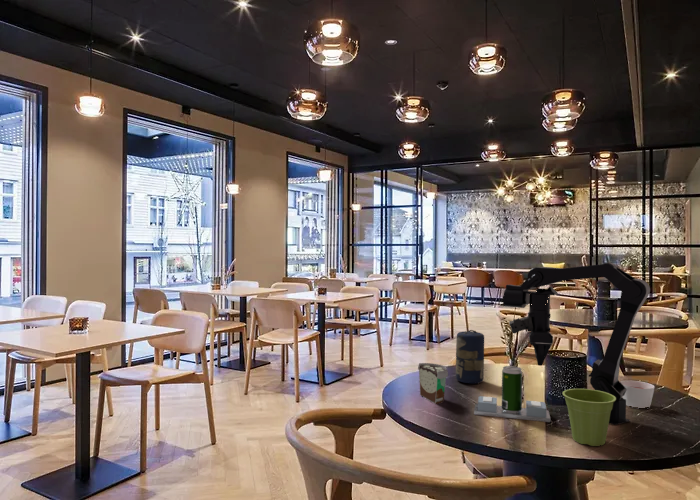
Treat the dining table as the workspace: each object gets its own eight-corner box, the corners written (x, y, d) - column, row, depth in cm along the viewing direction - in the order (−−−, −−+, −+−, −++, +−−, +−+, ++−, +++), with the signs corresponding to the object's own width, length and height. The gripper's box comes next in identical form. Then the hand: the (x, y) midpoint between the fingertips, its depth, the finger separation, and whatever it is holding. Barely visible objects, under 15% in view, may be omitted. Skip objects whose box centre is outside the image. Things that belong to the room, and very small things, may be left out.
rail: (548, 414, 145) (548, 410, 145) (550, 422, 138) (550, 418, 138) (475, 406, 151) (475, 403, 151) (474, 414, 144) (474, 410, 144)
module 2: (544, 410, 145) (544, 401, 145) (546, 417, 139) (546, 407, 139) (525, 408, 146) (526, 399, 146) (526, 415, 140) (526, 405, 140)
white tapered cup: (646, 412, 147) (647, 390, 147) (614, 404, 154) (614, 383, 154) (659, 406, 153) (659, 385, 153) (627, 399, 160) (627, 378, 160)
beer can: (512, 415, 141) (513, 371, 141) (497, 409, 145) (498, 367, 145) (525, 411, 144) (526, 368, 143) (510, 406, 148) (510, 364, 148)
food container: (456, 403, 154) (456, 370, 153) (438, 405, 151) (438, 372, 151) (434, 392, 165) (434, 361, 165) (417, 394, 163) (418, 362, 163)
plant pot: (578, 428, 133) (578, 385, 133) (624, 443, 124) (625, 396, 124) (552, 438, 126) (552, 393, 126) (599, 454, 117) (600, 405, 117)
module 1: (496, 406, 148) (496, 396, 148) (496, 412, 143) (496, 402, 143) (478, 404, 150) (478, 395, 150) (477, 410, 144) (477, 401, 144)
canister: (450, 379, 182) (451, 328, 182) (474, 377, 185) (475, 327, 185) (464, 386, 173) (465, 332, 173) (489, 384, 176) (489, 331, 175)
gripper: (510, 304, 163) (510, 353, 163) (511, 311, 145) (510, 366, 146) (548, 306, 160) (547, 356, 160) (553, 313, 142) (552, 370, 142)
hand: (538, 361), depth 152 cm, fingers open, 9 cm apart
